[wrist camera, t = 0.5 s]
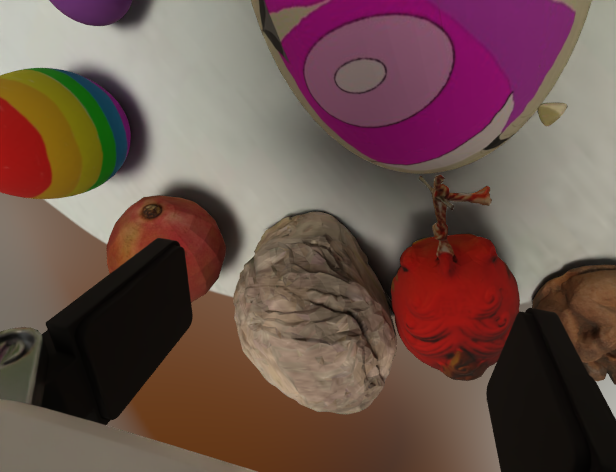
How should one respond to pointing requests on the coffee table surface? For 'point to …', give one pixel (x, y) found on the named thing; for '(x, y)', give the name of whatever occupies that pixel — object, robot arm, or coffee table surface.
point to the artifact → (586, 314)
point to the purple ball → (93, 10)
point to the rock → (315, 315)
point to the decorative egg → (58, 134)
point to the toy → (422, 71)
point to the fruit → (171, 237)
